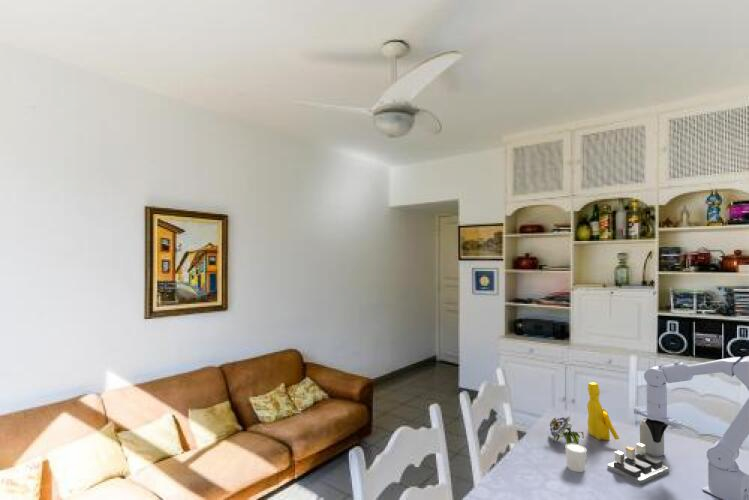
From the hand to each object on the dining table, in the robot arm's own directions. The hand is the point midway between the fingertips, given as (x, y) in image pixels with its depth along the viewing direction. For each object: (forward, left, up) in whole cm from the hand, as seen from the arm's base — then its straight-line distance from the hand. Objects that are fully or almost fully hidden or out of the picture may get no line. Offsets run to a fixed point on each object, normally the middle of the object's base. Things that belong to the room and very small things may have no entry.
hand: (657, 441), depth 139 cm
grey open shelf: (+3, +6, -10) cm, 12 cm away
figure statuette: (+25, -5, -10) cm, 27 cm away
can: (+8, -11, -10) cm, 17 cm away
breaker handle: (+6, +6, -7) cm, 11 cm away
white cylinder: (+14, +23, -10) cm, 29 cm away
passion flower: (+29, +10, -10) cm, 32 cm away
